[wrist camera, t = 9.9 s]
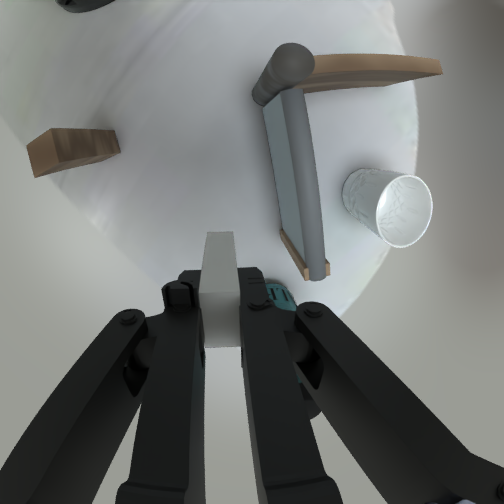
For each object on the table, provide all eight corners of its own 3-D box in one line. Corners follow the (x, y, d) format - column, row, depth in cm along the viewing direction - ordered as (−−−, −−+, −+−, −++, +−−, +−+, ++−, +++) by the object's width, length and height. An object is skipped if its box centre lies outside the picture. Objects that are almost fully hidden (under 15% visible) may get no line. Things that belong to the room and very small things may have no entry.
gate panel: (258, 109, 28) (278, 90, 17) (279, 106, 28) (309, 87, 17) (281, 238, 34) (306, 283, 23) (299, 235, 34) (332, 277, 23)
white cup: (350, 231, 36) (387, 260, 26) (328, 180, 33) (365, 195, 23) (393, 205, 35) (438, 226, 26) (375, 154, 32) (422, 162, 23)
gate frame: (94, 140, 27) (26, 145, 15) (380, 71, 27) (449, 50, 14) (100, 161, 29) (34, 178, 16) (385, 91, 28) (457, 78, 15)
